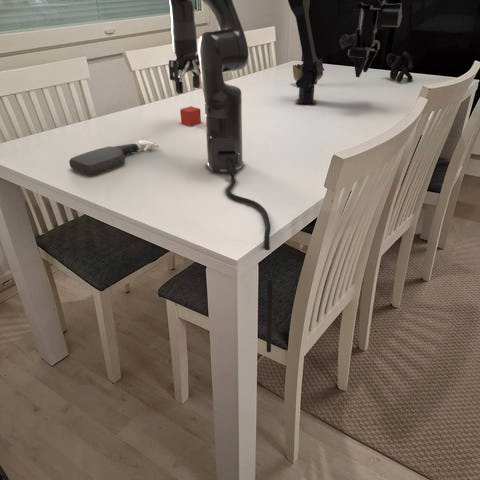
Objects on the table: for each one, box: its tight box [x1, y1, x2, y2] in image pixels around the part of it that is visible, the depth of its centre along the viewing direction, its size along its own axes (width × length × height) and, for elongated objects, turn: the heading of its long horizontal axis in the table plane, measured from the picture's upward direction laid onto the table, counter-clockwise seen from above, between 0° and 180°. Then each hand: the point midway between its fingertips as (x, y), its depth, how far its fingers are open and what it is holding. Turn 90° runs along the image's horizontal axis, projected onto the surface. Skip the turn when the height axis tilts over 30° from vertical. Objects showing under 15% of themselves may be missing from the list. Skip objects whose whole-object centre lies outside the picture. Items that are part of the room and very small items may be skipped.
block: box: [179, 106, 202, 127], centre depth 151 cm, size 5×5×5 cm
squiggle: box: [385, 51, 414, 83], centre depth 198 cm, size 11×10×15 cm
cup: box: [292, 63, 303, 82], centre depth 194 cm, size 8×7×8 cm
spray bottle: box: [68, 139, 160, 177], centre depth 124 cm, size 3×11×24 cm
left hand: (188, 90), depth 147 cm, fingers open, 8 cm apart
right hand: (361, 74), depth 157 cm, fingers open, 9 cm apart
